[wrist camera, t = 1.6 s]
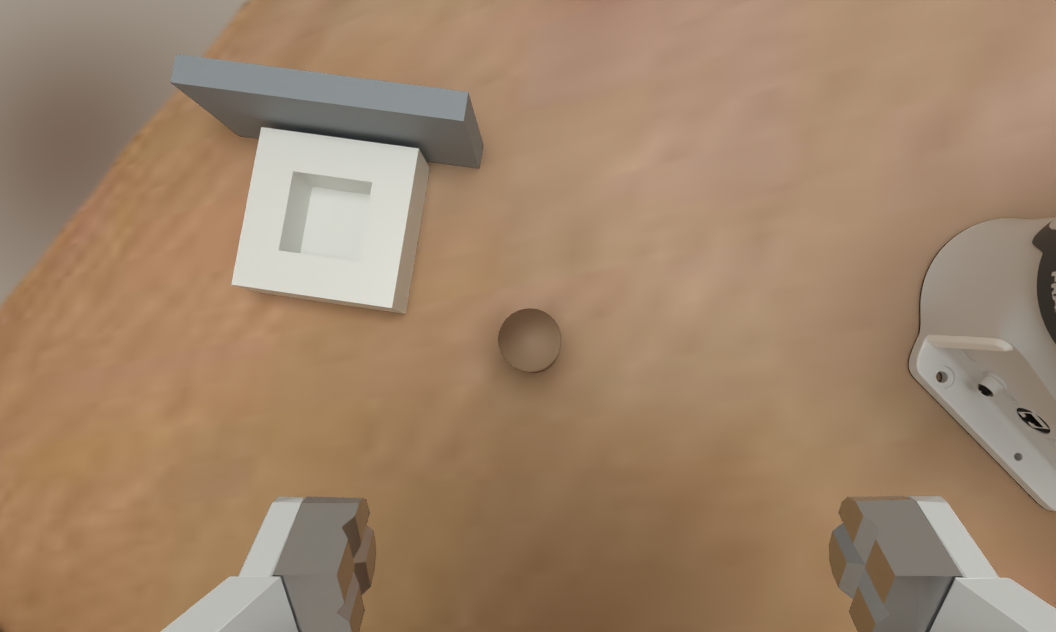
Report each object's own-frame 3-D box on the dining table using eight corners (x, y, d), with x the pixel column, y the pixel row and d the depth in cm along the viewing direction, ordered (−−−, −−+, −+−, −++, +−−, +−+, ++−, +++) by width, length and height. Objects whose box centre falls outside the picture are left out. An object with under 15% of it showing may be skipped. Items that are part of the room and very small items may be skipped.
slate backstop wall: (479, 168, 54) (463, 121, 44) (239, 135, 55) (170, 82, 45) (483, 144, 54) (468, 92, 44) (243, 112, 55) (175, 54, 45)
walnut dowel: (568, 355, 52) (572, 350, 42) (525, 382, 52) (519, 383, 42) (541, 312, 53) (540, 296, 43) (498, 338, 53) (486, 329, 43)
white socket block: (406, 314, 53) (391, 308, 48) (260, 293, 54) (231, 284, 49) (430, 169, 54) (418, 148, 49) (287, 149, 55) (261, 127, 50)
